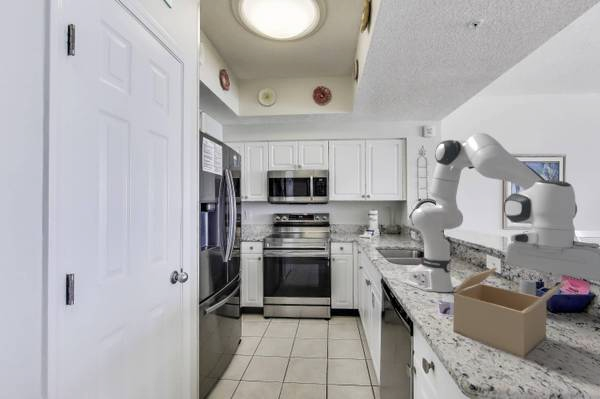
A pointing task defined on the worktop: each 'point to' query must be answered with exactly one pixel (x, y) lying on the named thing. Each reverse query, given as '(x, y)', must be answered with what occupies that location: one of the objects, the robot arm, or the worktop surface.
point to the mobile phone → (446, 308)
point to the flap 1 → (475, 279)
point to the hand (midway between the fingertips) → (550, 288)
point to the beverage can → (527, 287)
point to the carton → (500, 318)
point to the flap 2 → (546, 296)
